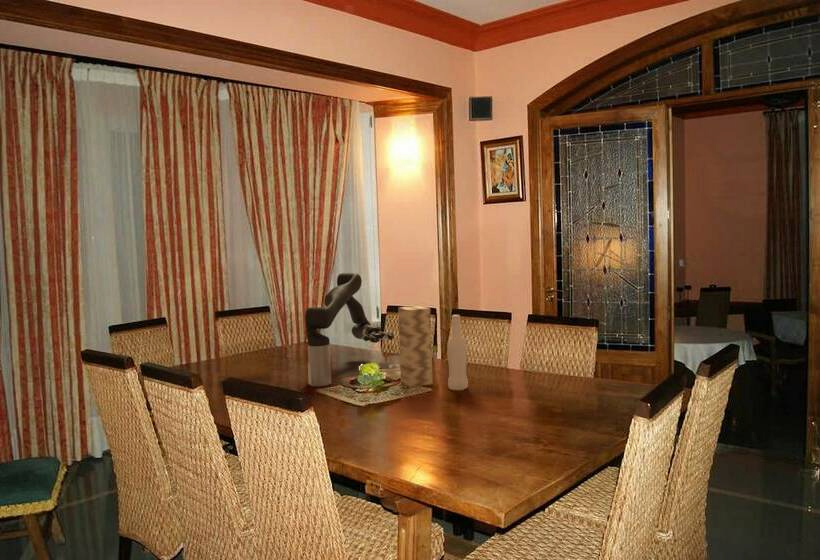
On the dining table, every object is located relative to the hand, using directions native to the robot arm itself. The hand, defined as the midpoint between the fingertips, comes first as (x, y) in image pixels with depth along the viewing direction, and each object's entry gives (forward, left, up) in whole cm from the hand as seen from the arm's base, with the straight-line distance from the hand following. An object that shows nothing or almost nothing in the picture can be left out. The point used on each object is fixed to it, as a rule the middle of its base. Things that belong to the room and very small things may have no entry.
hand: (382, 338), depth 302 cm
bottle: (+14, -51, -15) cm, 54 cm away
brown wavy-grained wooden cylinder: (+3, -33, -15) cm, 36 cm away
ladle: (0, -8, -13) cm, 15 cm away
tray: (0, -18, -15) cm, 23 cm away
